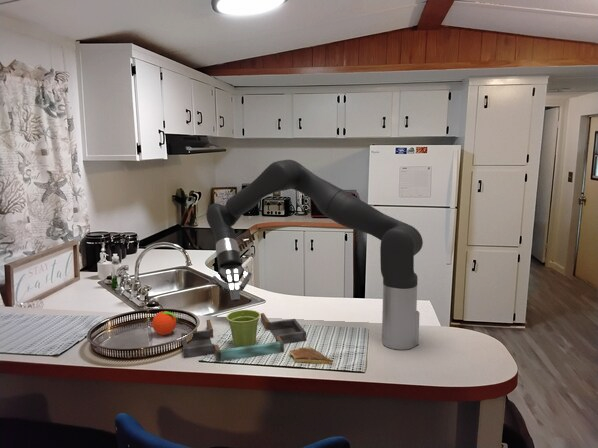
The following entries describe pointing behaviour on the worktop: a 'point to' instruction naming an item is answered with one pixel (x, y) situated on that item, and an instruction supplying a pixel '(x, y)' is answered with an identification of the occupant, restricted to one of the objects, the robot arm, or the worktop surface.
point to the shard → (309, 356)
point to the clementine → (164, 322)
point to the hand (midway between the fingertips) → (236, 302)
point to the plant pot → (243, 327)
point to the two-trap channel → (280, 329)
